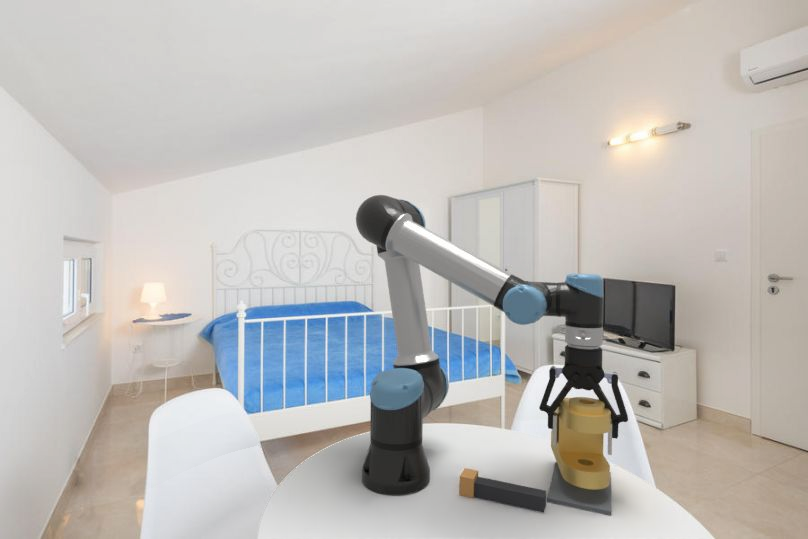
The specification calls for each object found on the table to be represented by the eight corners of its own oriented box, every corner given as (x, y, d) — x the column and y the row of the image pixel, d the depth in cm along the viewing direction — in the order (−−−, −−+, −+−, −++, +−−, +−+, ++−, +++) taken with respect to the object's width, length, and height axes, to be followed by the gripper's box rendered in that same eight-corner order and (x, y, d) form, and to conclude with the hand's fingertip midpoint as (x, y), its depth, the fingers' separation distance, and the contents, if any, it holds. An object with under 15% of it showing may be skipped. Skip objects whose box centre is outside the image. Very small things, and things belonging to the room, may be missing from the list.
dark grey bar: (459, 495, 96) (459, 476, 96) (464, 486, 99) (464, 468, 99) (543, 514, 89) (544, 493, 89) (546, 504, 92) (546, 484, 92)
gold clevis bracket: (615, 491, 90) (616, 410, 90) (566, 487, 92) (567, 407, 91) (590, 449, 110) (592, 383, 109) (550, 446, 111) (551, 381, 111)
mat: (546, 501, 93) (546, 497, 93) (555, 465, 110) (555, 462, 110) (611, 515, 89) (611, 511, 89) (610, 475, 105) (610, 472, 105)
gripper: (526, 344, 100) (524, 445, 100) (644, 353, 90) (642, 464, 91) (531, 338, 106) (530, 433, 107) (641, 347, 97) (639, 450, 98)
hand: (581, 447), depth 99 cm, fingers closed on gold clevis bracket, 10 cm apart
